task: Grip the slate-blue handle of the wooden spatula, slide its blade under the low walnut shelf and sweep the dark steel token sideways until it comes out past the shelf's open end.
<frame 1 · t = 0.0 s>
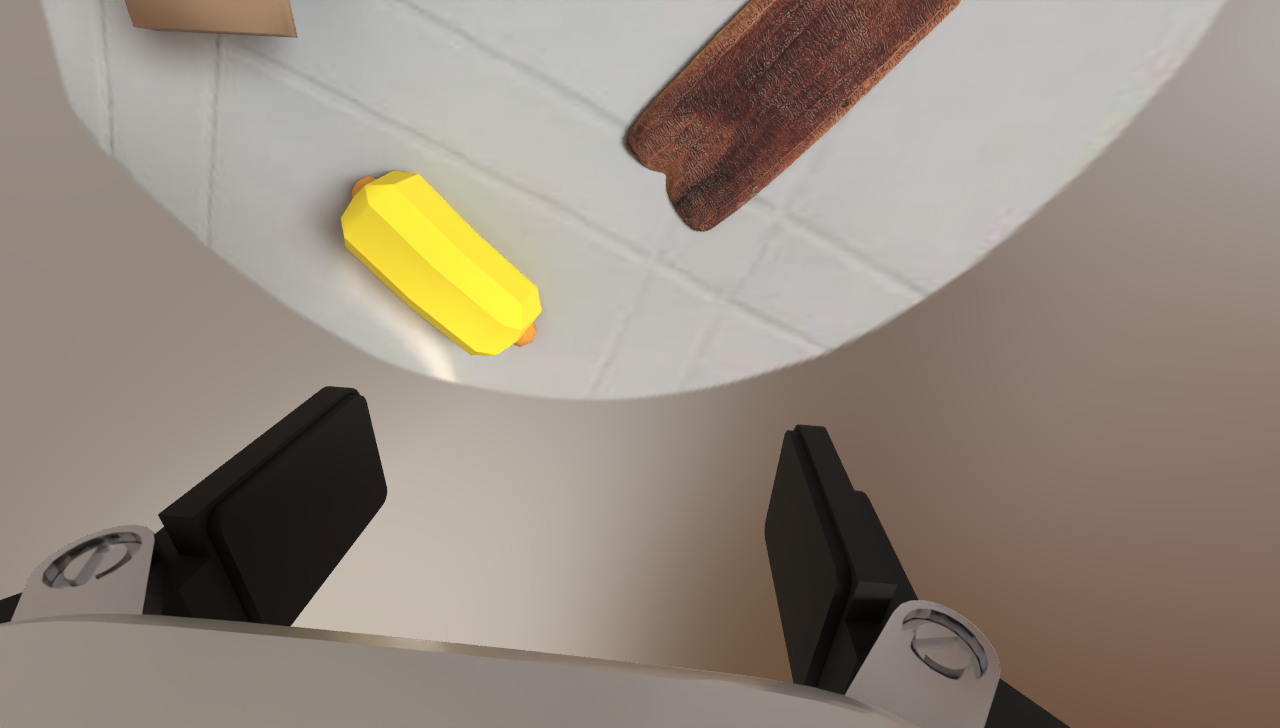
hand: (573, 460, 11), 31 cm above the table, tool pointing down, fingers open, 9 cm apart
wooden tablet: (804, 55, 34), on the table
yellow faceted part: (460, 259, 42), on the table
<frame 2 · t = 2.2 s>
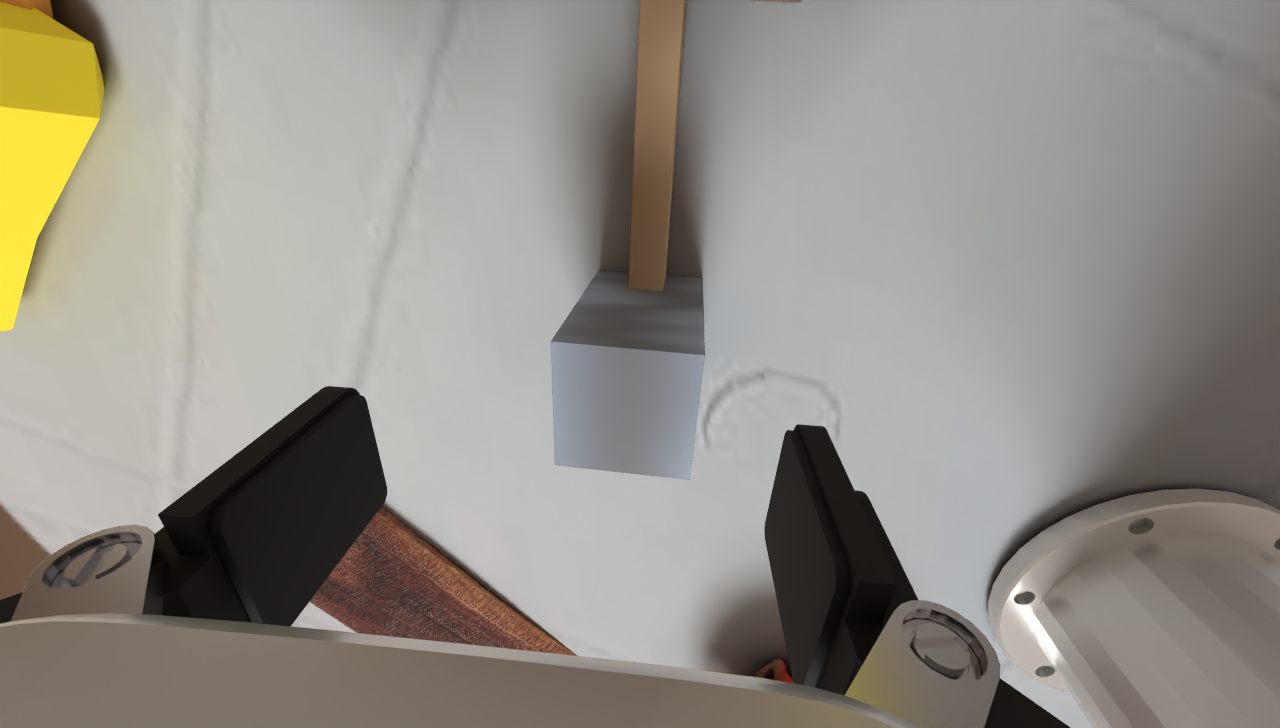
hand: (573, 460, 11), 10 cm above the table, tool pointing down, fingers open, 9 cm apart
wooden tablet: (461, 621, 31), on the table
yellow faceted part: (8, 156, 20), on the table
dragon fruit: (789, 676, 29), on the table
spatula: (647, 322, 20), on the table
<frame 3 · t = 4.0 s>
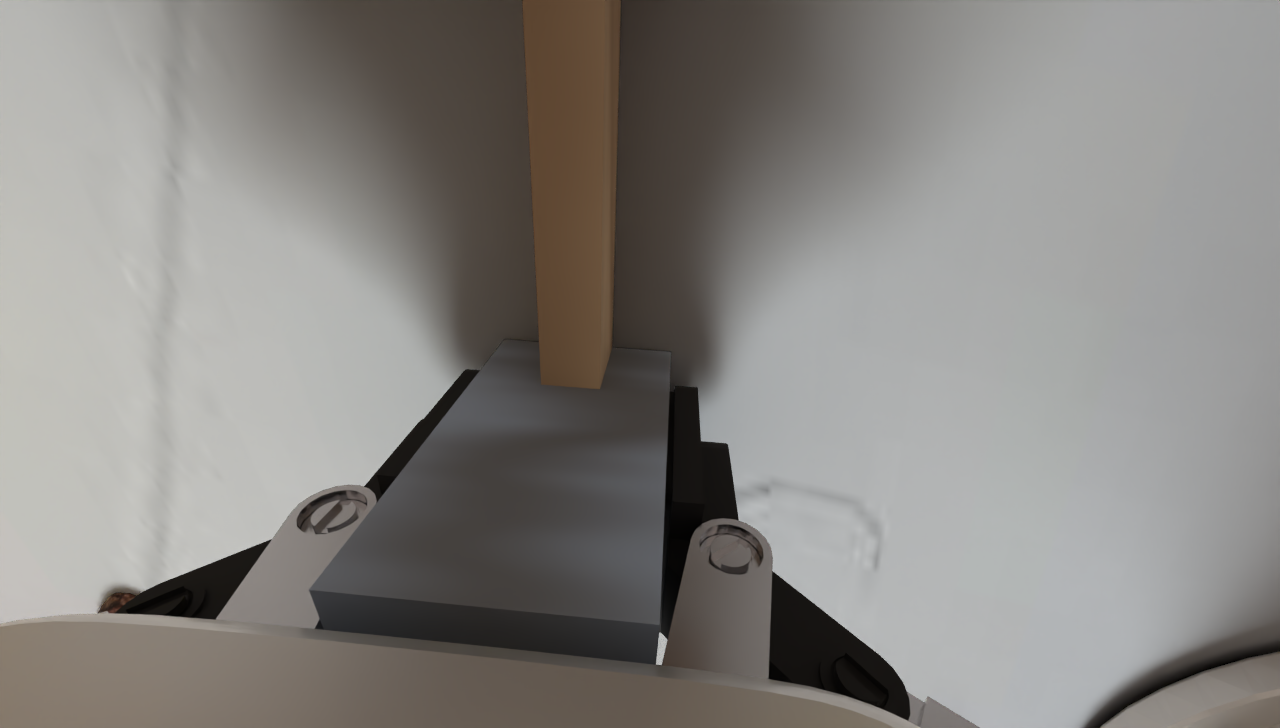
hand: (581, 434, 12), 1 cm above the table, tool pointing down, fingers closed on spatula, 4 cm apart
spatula: (587, 416, 13), on the table, touching gripper
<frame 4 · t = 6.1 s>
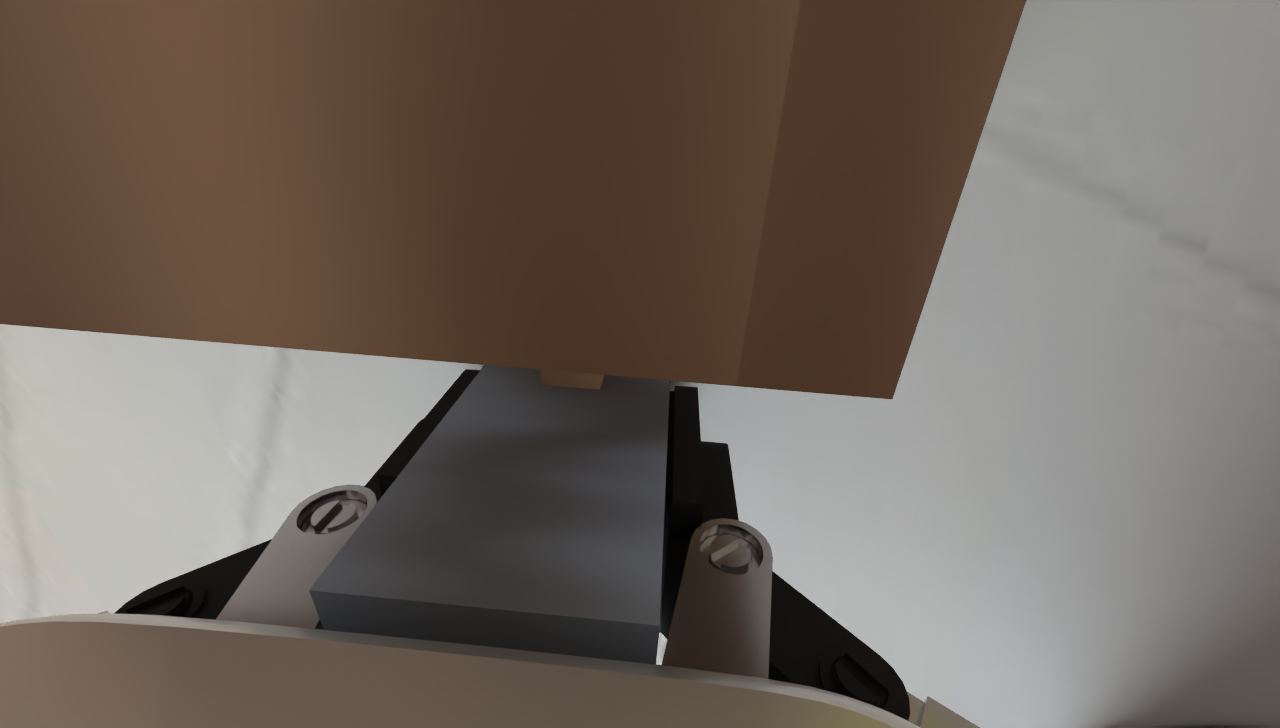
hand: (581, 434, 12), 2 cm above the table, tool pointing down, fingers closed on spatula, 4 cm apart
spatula: (587, 416, 13), point 1 cm above the table, touching gripper
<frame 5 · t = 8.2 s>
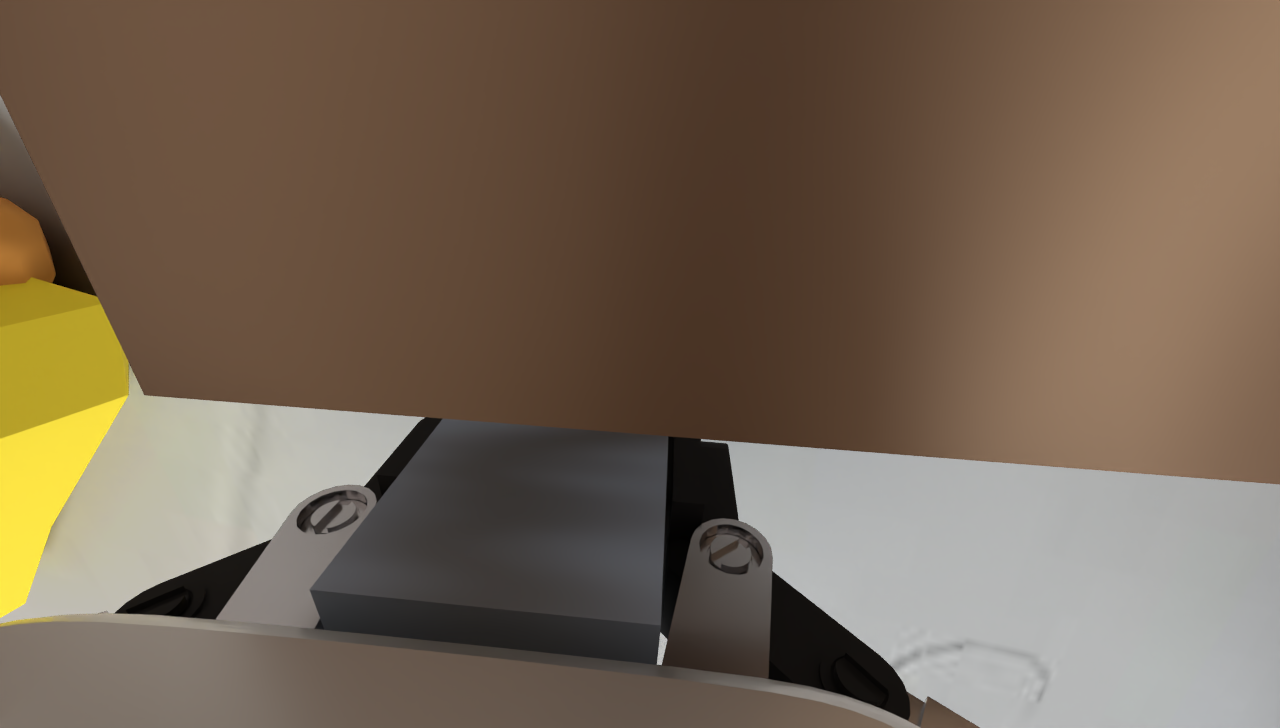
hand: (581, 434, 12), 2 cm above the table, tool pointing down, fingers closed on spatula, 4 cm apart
yellow faceted part: (4, 406, 16), on the table
walnut shelf: (785, 29, 9), on the table
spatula: (587, 416, 13), point 1 cm above the table, touching gripper, steel token
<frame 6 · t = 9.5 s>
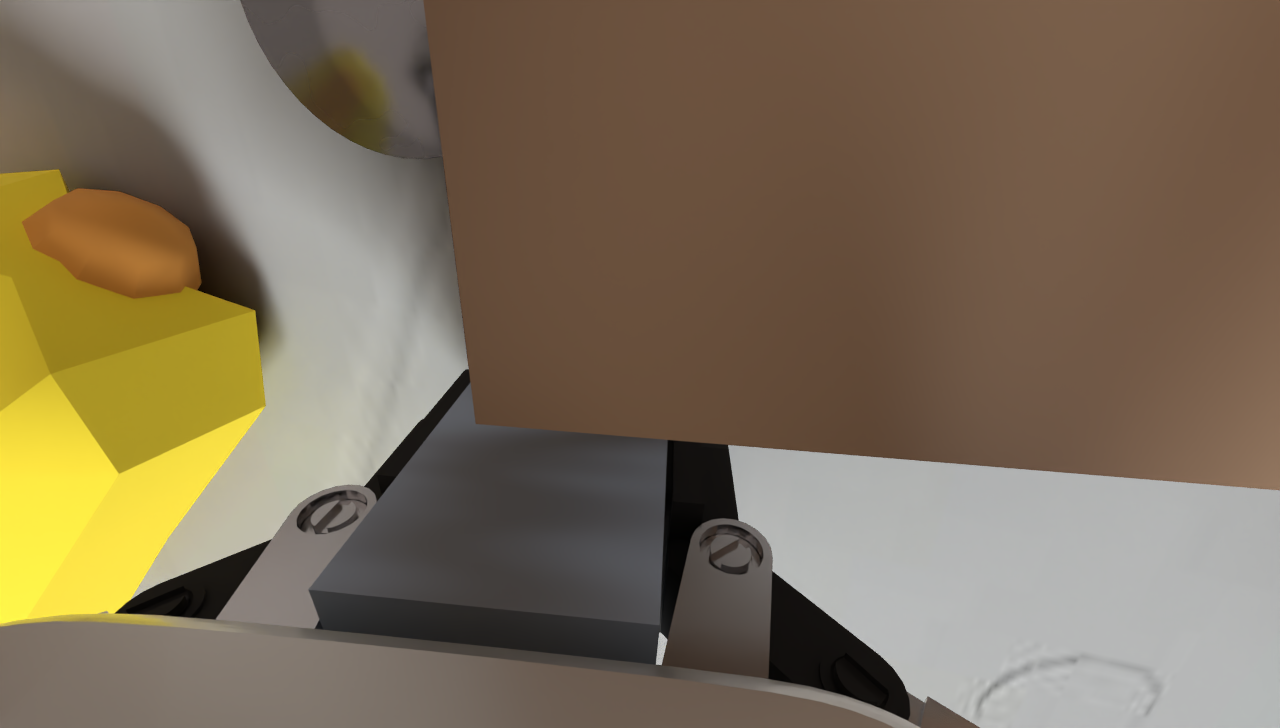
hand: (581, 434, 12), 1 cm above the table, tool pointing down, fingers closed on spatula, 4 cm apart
yellow faceted part: (112, 414, 15), on the table
steel token: (438, 13, 10), on the table
walnut shelf: (995, 36, 9), on the table
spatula: (587, 416, 13), point 1 cm above the table, touching gripper
when the fingers open (1 cm above the table, at t = 10.8 s): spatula stays where it is, on the table.
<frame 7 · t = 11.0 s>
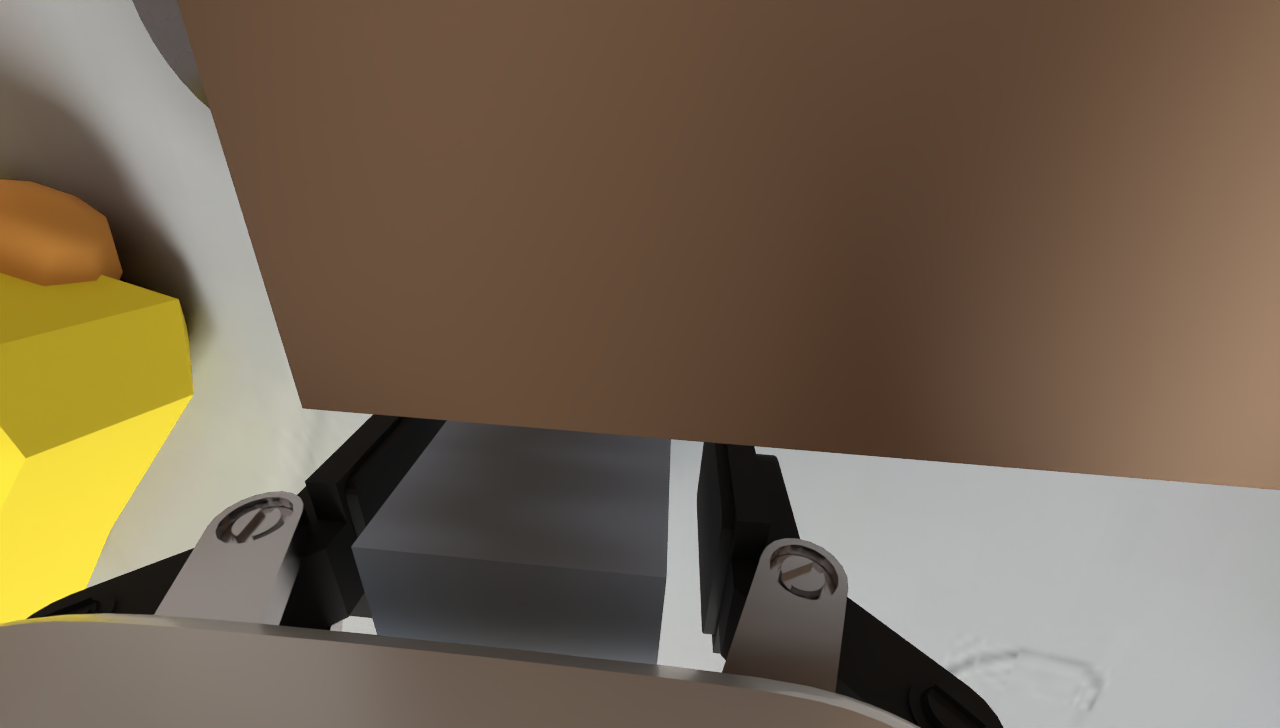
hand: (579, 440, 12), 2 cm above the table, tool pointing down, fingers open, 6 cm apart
yellow faceted part: (58, 409, 15), on the table
steel token: (345, 11, 10), on the table
walnut shelf: (887, 34, 9), on the table
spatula: (593, 404, 13), on the table
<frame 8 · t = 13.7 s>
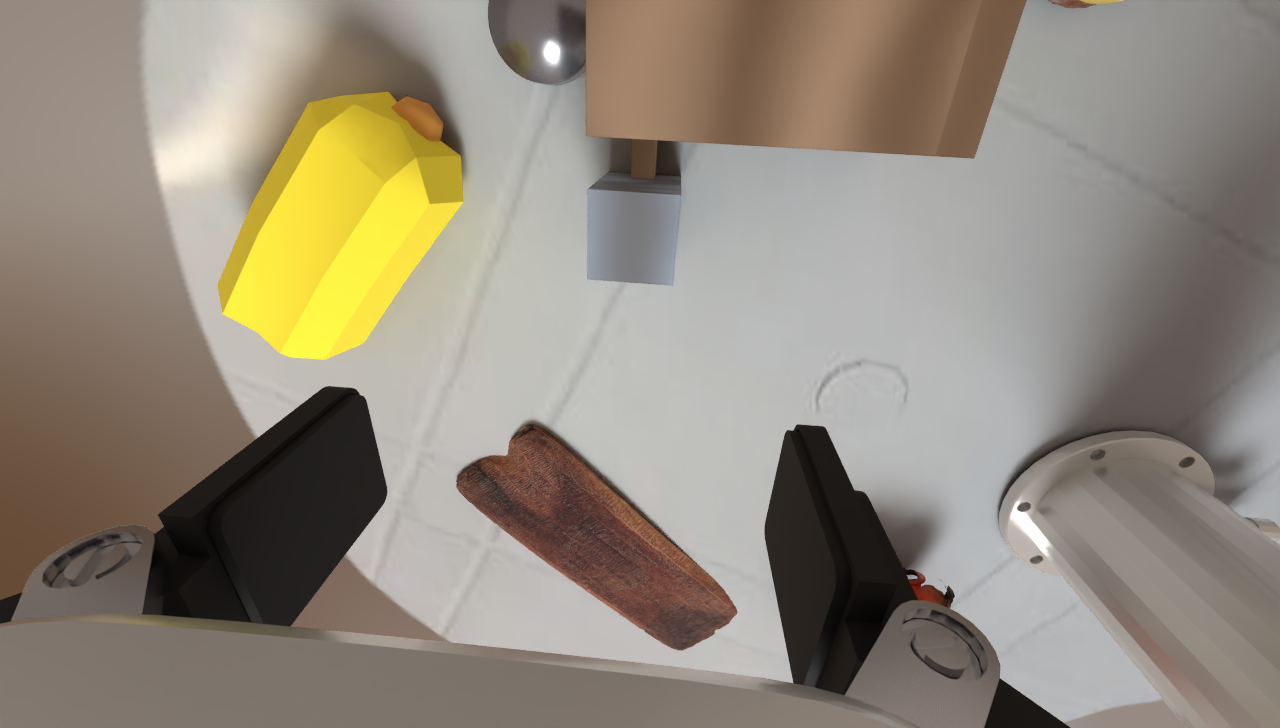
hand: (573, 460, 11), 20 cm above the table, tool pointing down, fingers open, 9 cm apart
wooden tablet: (611, 545, 42), on the table
yellow faceted part: (369, 227, 30), on the table
steel token: (551, 28, 25), on the table
dragon fruit: (856, 578, 40), on the table
walnut shelf: (762, 37, 24), on the table
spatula: (642, 211, 28), on the table
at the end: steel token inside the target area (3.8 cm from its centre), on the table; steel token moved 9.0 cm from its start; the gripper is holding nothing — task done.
